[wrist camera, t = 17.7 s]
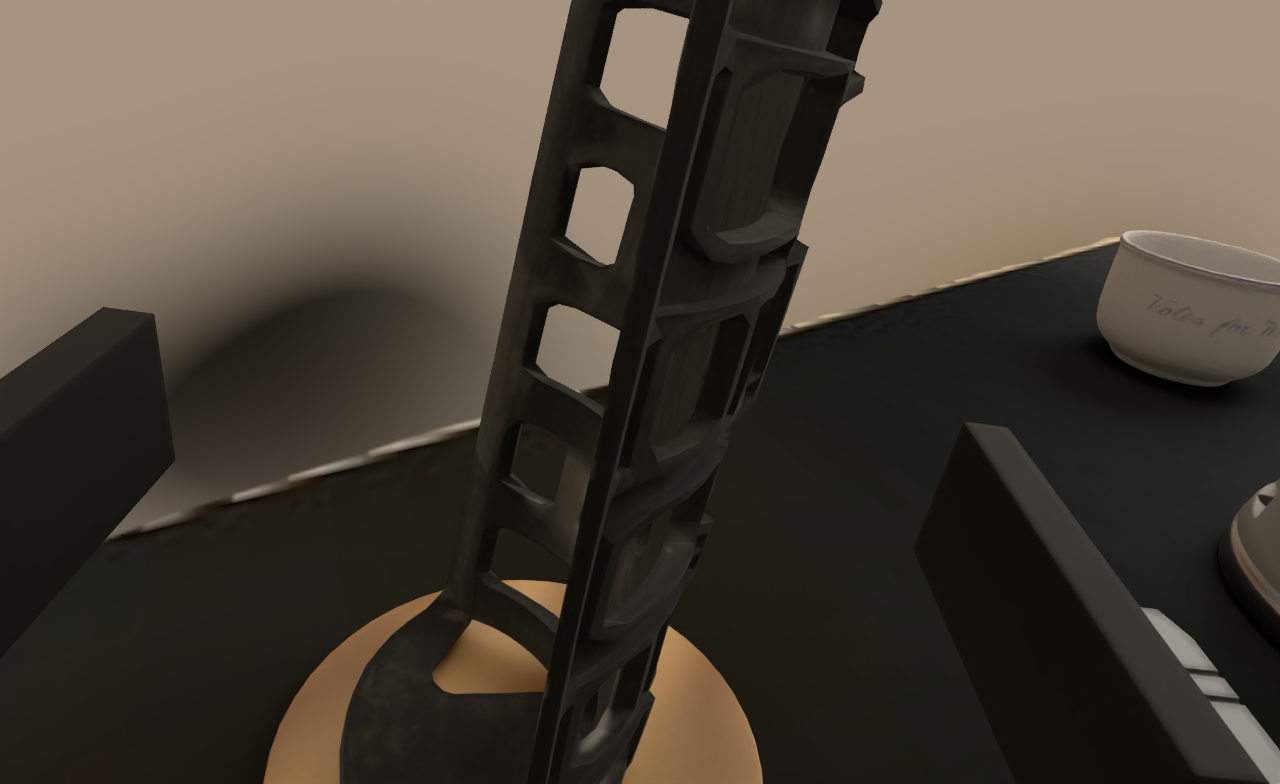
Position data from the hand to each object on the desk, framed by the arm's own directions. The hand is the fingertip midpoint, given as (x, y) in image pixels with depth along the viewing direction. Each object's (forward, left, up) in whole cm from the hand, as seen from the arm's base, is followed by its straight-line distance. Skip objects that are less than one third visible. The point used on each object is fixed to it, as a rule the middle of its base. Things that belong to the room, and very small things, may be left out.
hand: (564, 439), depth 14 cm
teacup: (-40, -37, -13) cm, 56 cm away
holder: (0, -3, -12) cm, 12 cm away
